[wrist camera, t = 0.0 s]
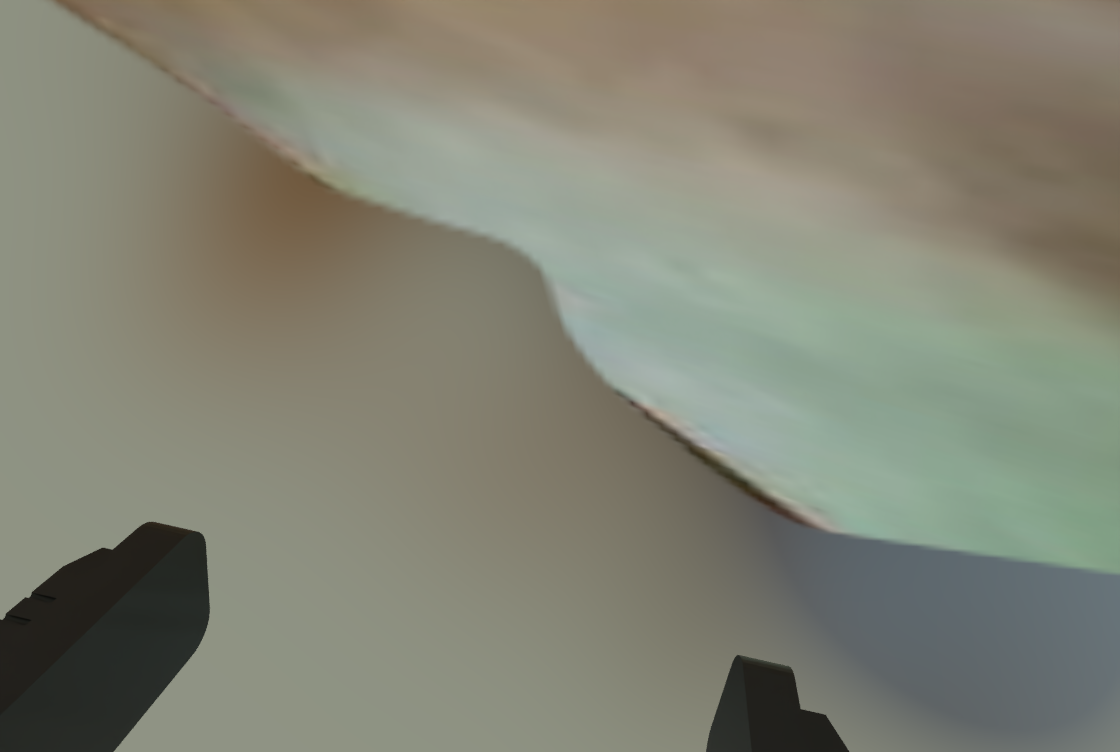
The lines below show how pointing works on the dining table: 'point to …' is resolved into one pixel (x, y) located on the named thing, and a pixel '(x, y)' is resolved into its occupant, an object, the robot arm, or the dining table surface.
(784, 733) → the robot arm
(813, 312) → the dining table surface
